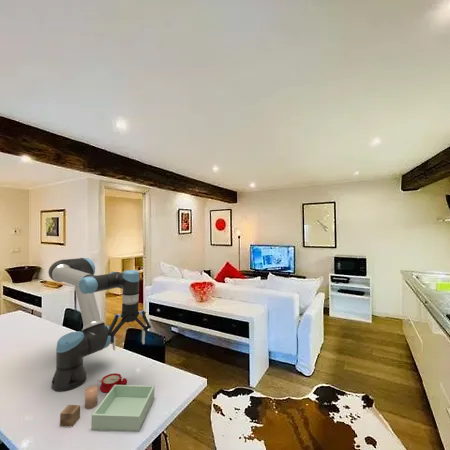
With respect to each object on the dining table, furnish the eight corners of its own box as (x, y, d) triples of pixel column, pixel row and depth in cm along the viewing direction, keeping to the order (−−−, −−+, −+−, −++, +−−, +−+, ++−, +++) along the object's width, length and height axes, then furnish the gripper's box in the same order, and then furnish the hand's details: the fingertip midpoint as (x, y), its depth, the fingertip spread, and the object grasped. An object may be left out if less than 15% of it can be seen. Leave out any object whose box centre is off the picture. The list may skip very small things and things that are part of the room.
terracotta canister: (82, 408, 111) (82, 392, 111) (88, 401, 116) (89, 385, 116) (93, 409, 111) (94, 392, 111) (99, 401, 116) (100, 385, 116)
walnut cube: (59, 426, 101) (60, 413, 101) (68, 417, 106) (68, 404, 106) (72, 426, 101) (72, 413, 101) (79, 417, 106) (80, 405, 106)
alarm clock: (112, 370, 135) (131, 372, 128) (113, 383, 134) (133, 385, 127) (93, 380, 126) (113, 382, 119) (95, 394, 125) (115, 397, 118)
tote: (91, 429, 100) (91, 415, 100) (114, 397, 119) (114, 384, 119) (138, 431, 99) (139, 416, 99) (154, 398, 119) (154, 385, 119)
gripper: (103, 308, 116) (101, 355, 116) (157, 301, 130) (156, 343, 129) (101, 303, 123) (99, 348, 123) (153, 297, 136) (152, 337, 136)
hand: (129, 346), depth 126 cm, fingers open, 13 cm apart
